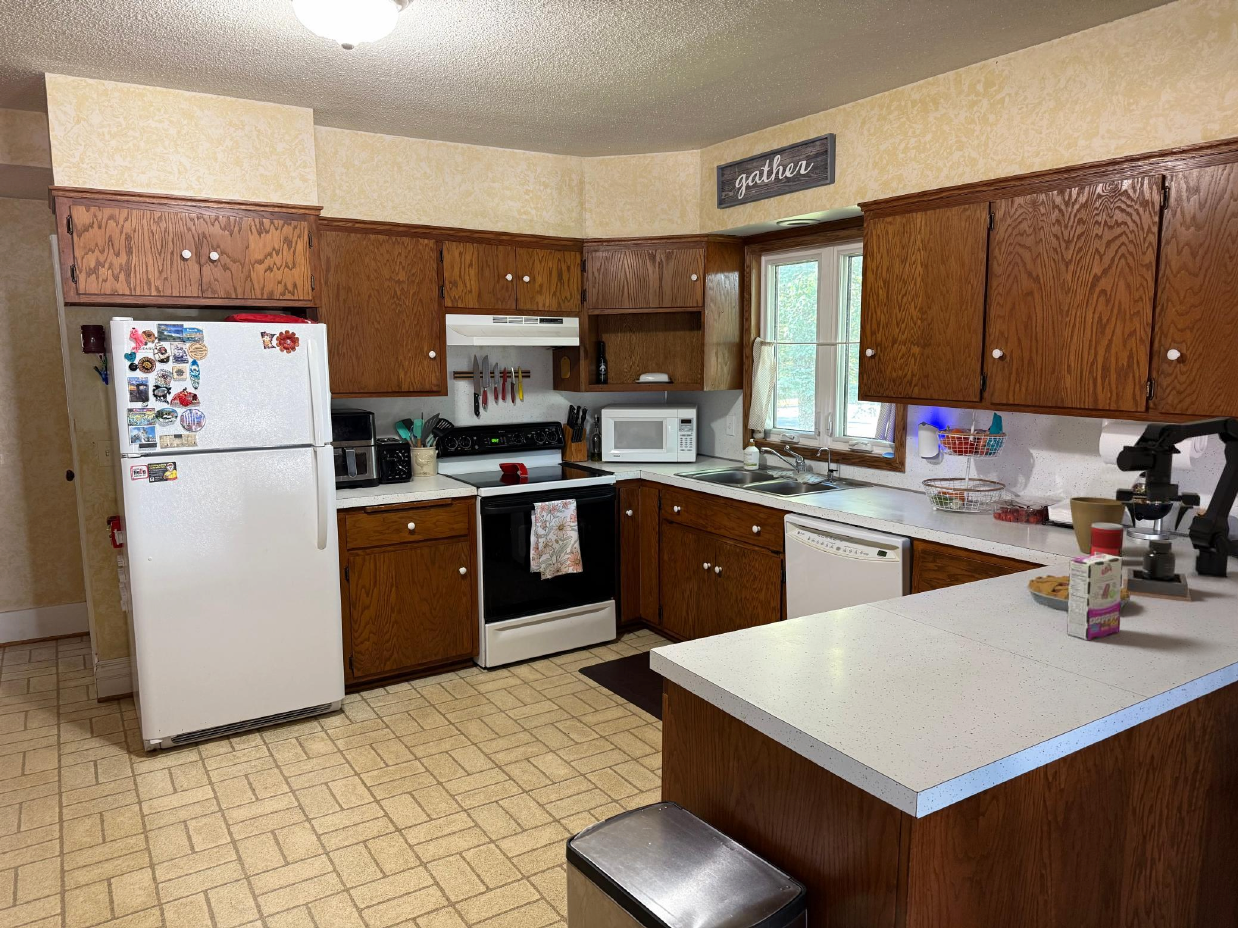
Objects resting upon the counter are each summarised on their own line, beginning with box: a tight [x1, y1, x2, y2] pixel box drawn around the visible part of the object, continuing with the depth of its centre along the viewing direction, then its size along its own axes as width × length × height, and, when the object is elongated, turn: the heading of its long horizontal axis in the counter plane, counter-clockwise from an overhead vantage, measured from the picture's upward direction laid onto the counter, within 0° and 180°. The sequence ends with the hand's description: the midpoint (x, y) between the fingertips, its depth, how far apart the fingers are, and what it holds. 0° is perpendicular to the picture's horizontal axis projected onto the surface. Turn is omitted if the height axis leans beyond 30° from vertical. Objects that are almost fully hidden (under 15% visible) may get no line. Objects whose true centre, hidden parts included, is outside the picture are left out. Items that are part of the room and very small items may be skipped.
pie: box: [1026, 574, 1131, 612], centre depth 203 cm, size 22×22×5 cm
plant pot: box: [1069, 496, 1127, 555], centre depth 256 cm, size 15×15×16 cm
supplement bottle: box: [1141, 538, 1176, 582], centre depth 212 cm, size 7×7×12 cm
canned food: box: [1089, 523, 1124, 558], centre depth 243 cm, size 8×8×11 cm
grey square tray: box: [1122, 567, 1192, 602], centre depth 212 cm, size 14×14×4 cm
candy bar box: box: [1066, 554, 1124, 641], centre depth 179 cm, size 11×5×16 cm, turn 117°
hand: (1154, 529), depth 225 cm, fingers open, 9 cm apart
